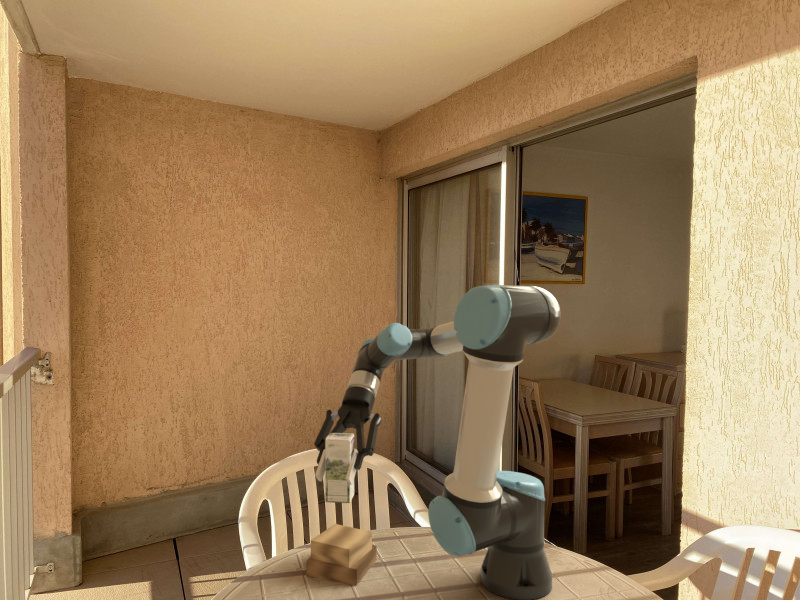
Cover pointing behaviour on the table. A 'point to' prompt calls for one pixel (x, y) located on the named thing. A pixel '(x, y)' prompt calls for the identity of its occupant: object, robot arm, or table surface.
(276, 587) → the table surface
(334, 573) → the walnut block
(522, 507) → the robot arm
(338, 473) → the syrup box
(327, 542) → the oak block
